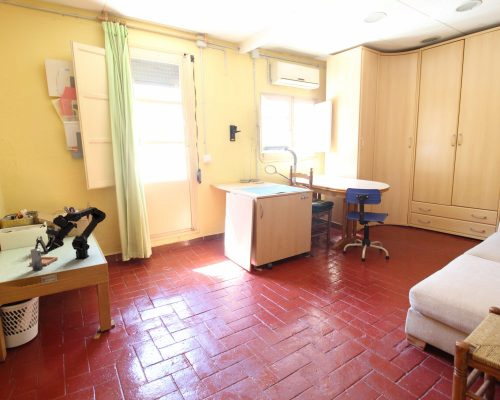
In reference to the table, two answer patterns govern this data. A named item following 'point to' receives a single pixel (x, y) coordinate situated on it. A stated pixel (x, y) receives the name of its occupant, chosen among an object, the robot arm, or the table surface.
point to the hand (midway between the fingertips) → (46, 249)
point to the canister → (36, 259)
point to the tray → (46, 260)
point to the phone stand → (41, 245)
